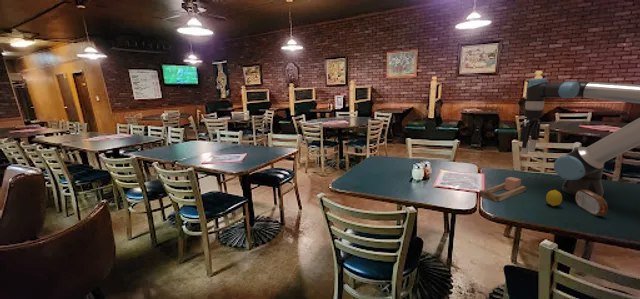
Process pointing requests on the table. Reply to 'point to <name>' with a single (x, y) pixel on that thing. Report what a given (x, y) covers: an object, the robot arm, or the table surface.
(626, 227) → the table surface
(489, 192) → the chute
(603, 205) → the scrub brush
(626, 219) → the table surface
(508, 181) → the block
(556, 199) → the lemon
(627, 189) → the table surface
